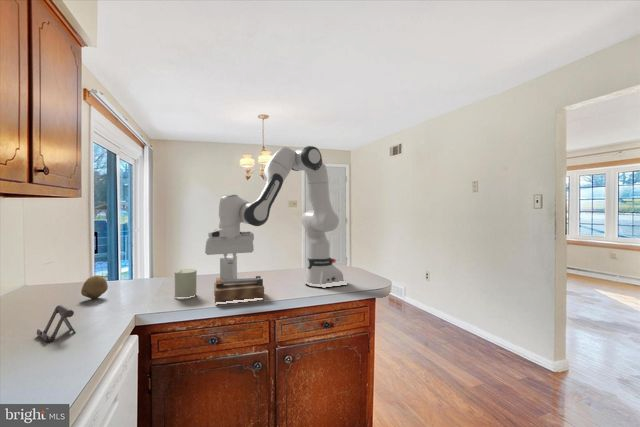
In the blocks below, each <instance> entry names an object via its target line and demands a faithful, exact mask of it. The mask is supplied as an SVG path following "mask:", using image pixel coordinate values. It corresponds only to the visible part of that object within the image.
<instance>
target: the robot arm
mask: <svg viewBox="0 0 640 427" xmlns="http://www.w3.org/2000/svg"><path fill="white" fill-rule="evenodd" d="M291 171H295V172H299V171H300V172H301V171H304V172H305V174H306V188H307V199H308V201H309V203H310V204H311V207H312V209H310V210H307V211H305V212H304V213H303V214H302V216H301V219H300V220H301V224H302V227H303V228H304V229H305V234H306V238H307V242H308V243H307V245H308V248H307V251H308V253H307V254H308V256H307V258H306V259H307V262H306V266H307V271H306V272H307V273H306V278H305V282H308V283H312V284H320V285H321V284H326V283H332V282H339V281H344V280H345V279H344V274H343V272H342V271H341V270H340V269H339V268H338V267H336V266H335V265H334V264H335V263H336V262H337V260H336V258H332V257H330V242H329V240H328V238H327V235H326V233H328V232H332V231H333V232H334V231H335V230H336V229H337V228H338V226H339V220H340V218H339V217H338V215H337V213H336V212H335V211H334V209H333V206H332V203H331V200H330V188H329V175H328V170H327V166H326V164H325V163H323V157H322V154H321V151H320V150H319V148H317V147H316V146H312V145H307V146H302V147H299V148H297V149H293V150H292V149H291V148H289V147H286V146H282V147H280V148H279V149H277V151H276V152H275V153H273V155H272V156H271V157H270V159H269V160H268V162H267V163H266V165H265V167H264V168H263V171H262V177H263V180H264V181H265V182H266V183H265V186H264V188H263V189H262V192H260V193H261V194H260V195H259V196H258V198H257V199H256V200H255V201H253V202H250V201H247V200H245V199H243V198H241V197H240V196H239V195H237V194H230V195H224V196H222V197H221V198H220V199H219V203H218V204H219V205H218V217H219V223H218V228H216V229H213V230H211V231H208V232H207V236H208V238H207V239H206V242H205V248H204V249H205V250H204V251H205V253H204V254H206V256H207V255H208V256H210V255H213V256H214V255H223V257H225V259H226V264H234V259H235V257H236V256H237V254H247V253H249V254H250V253H253V252H254V239H255V234H254V233H253V232H251V231H241V224H242V223H243V224H246V225H251V226H254V227H261V226H263V225H264V224H266V223H267V221H268V220H269V217H270V212H271V208H272V206H273V203H274V202H275V200H276V198H277V196H278V195H279V192H280V191H281V189H282V187H283V183H284V182H285V180H287V179H286V178H287V177H288V176H289V174H290V172H291ZM231 254H232V256H233V258H232V259H227V257H226V256H228V255H231Z"/></svg>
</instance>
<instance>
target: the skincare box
mask: <svg viewBox="0 0 640 427" xmlns="http://www.w3.org/2000/svg"><path fill="white" fill-rule="evenodd" d="M226 257H227V259H232V258H233V255H227V256H226ZM219 278H221V280H223V279H238V256H237V255H236V257H235V259H234V264H226V259H225V257H224V256H221V257H220V258H219Z"/></svg>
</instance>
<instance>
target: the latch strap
mask: <svg viewBox="0 0 640 427" xmlns="http://www.w3.org/2000/svg"><path fill="white" fill-rule="evenodd" d="M258 279H260V277H258V278H256V277H250V278H249V277H248V278H237V279H223V280H221V278H220V277H216V278H215V283H216V284H232V283H252V282H258Z"/></svg>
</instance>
